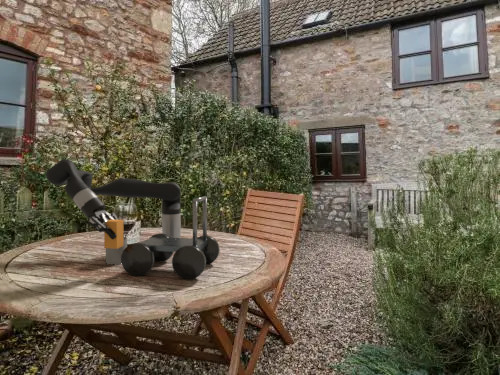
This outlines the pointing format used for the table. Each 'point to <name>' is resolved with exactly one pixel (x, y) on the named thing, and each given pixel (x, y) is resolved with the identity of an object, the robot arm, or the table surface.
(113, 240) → the orange rectangular block
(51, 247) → the table surface
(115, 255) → the cup
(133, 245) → the trolley
